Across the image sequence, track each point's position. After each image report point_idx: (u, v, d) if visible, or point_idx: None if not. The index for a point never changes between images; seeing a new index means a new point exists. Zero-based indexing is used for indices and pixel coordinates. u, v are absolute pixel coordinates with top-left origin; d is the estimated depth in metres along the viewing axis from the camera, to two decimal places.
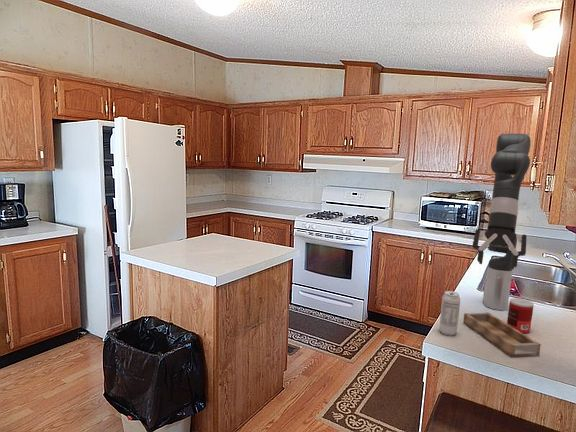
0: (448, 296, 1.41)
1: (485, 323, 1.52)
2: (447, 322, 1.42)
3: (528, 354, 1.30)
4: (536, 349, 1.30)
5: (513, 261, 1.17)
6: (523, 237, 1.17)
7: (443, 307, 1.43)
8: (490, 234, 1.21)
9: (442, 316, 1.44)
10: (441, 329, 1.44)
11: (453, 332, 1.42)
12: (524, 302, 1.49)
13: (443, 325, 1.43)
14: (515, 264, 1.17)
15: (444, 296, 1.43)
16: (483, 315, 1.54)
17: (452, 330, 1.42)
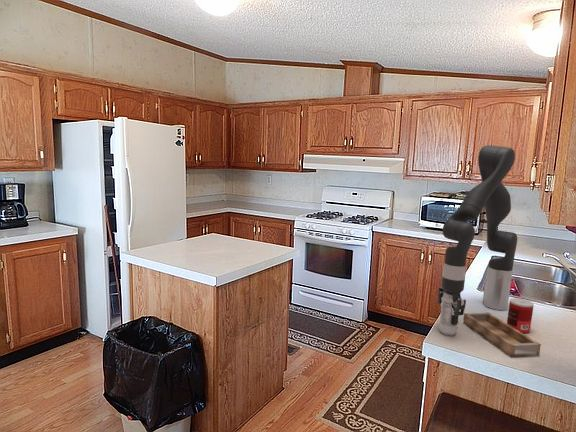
0: (448, 296, 1.41)
1: (485, 323, 1.52)
2: (447, 322, 1.42)
3: (528, 354, 1.30)
4: (536, 349, 1.30)
5: (451, 319, 1.41)
6: (458, 302, 1.37)
7: (443, 307, 1.43)
8: (444, 292, 1.45)
9: (442, 316, 1.44)
10: (441, 329, 1.44)
11: (453, 332, 1.42)
12: (524, 302, 1.49)
13: (443, 325, 1.43)
14: (453, 322, 1.40)
15: (444, 296, 1.43)
16: (483, 315, 1.54)
17: (452, 330, 1.42)
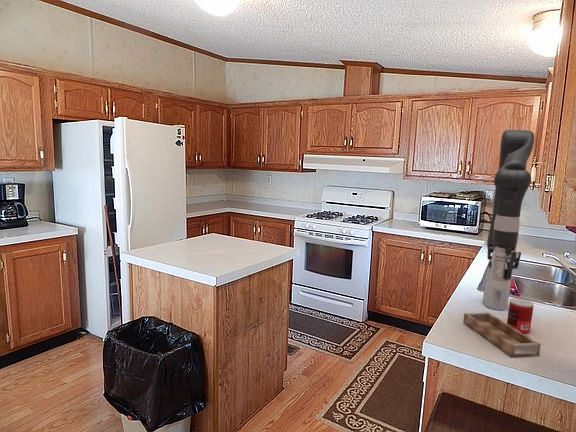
0: (500, 250, 1.34)
1: (485, 323, 1.52)
2: (499, 277, 1.35)
3: (528, 354, 1.30)
4: (536, 349, 1.30)
5: (504, 273, 1.34)
6: (512, 254, 1.30)
7: (495, 261, 1.36)
8: (495, 246, 1.38)
9: (493, 271, 1.37)
10: (492, 285, 1.37)
11: (505, 288, 1.35)
12: (524, 302, 1.49)
13: (495, 280, 1.36)
14: (506, 276, 1.34)
15: (496, 250, 1.36)
16: (483, 315, 1.54)
17: (504, 285, 1.35)
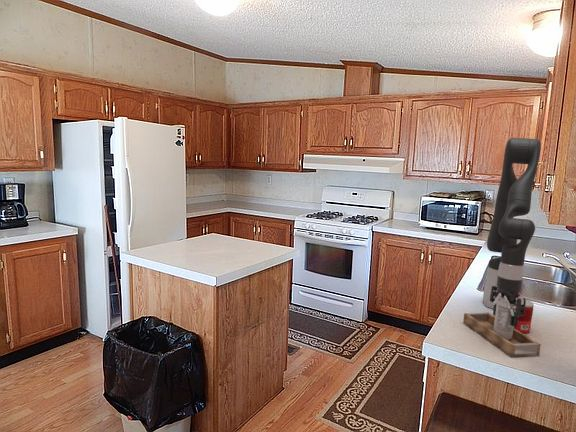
0: (504, 300, 1.36)
1: (485, 323, 1.52)
2: (503, 327, 1.37)
3: (528, 354, 1.30)
4: (536, 349, 1.30)
5: (511, 320, 1.34)
6: (517, 301, 1.31)
7: (499, 311, 1.38)
8: (499, 292, 1.40)
9: (497, 321, 1.38)
10: None
11: (509, 337, 1.37)
12: None
13: (499, 330, 1.38)
14: (513, 322, 1.34)
15: (499, 300, 1.38)
16: (483, 315, 1.54)
17: (508, 335, 1.37)
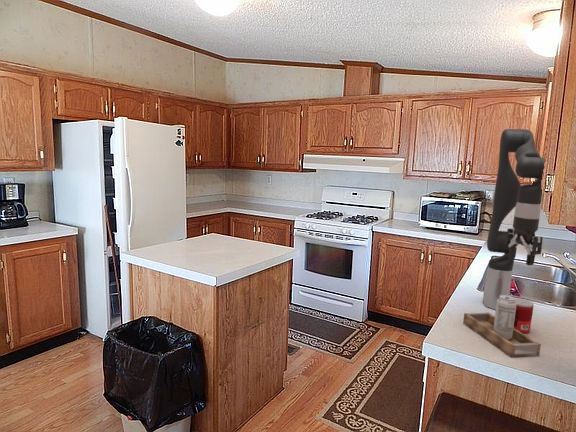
0: (504, 300, 1.36)
1: (485, 323, 1.52)
2: (503, 327, 1.37)
3: (528, 354, 1.30)
4: (536, 349, 1.30)
5: (527, 259, 1.35)
6: (534, 239, 1.31)
7: (499, 311, 1.38)
8: (515, 234, 1.40)
9: (497, 321, 1.38)
10: None
11: (509, 337, 1.37)
12: (524, 302, 1.49)
13: (498, 330, 1.38)
14: (529, 262, 1.34)
15: (499, 300, 1.38)
16: (483, 315, 1.54)
17: (508, 335, 1.37)
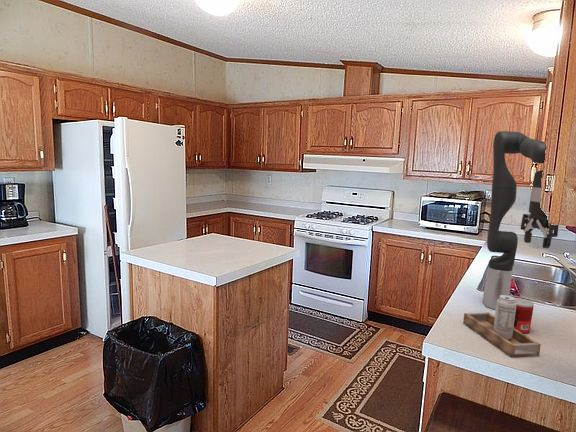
0: (504, 300, 1.36)
1: (485, 323, 1.52)
2: (503, 327, 1.37)
3: (528, 354, 1.30)
4: (536, 349, 1.30)
5: (543, 242, 1.39)
6: None
7: (499, 311, 1.38)
8: (531, 218, 1.44)
9: (497, 321, 1.38)
10: None
11: (509, 337, 1.37)
12: (524, 302, 1.49)
13: (498, 330, 1.38)
14: (545, 244, 1.38)
15: (499, 300, 1.38)
16: (483, 315, 1.54)
17: (508, 335, 1.37)
